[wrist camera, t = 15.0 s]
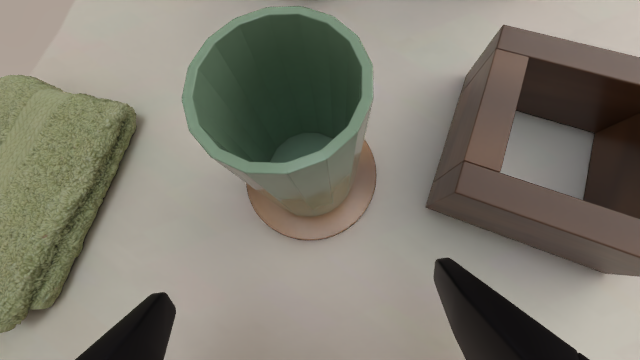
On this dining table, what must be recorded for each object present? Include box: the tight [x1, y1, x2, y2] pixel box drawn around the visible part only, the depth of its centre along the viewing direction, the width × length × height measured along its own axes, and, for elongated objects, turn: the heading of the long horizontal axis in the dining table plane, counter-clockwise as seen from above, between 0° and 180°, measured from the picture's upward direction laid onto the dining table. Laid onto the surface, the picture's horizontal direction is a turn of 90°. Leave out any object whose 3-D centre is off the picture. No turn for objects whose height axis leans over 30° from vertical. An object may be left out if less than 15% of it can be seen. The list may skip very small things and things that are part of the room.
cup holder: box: [426, 25, 640, 276], centre depth 17 cm, size 12×12×5 cm
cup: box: [182, 6, 373, 217], centre depth 14 cm, size 7×7×11 cm
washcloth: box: [0, 75, 136, 333], centre depth 20 cm, size 13×18×3 cm
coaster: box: [246, 140, 376, 240], centre depth 20 cm, size 10×10×1 cm
